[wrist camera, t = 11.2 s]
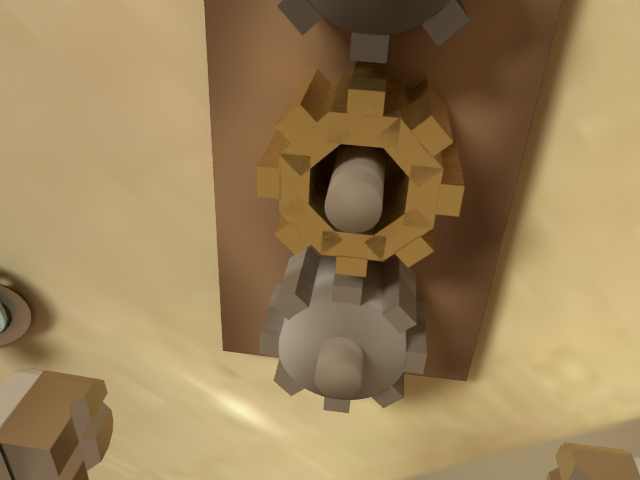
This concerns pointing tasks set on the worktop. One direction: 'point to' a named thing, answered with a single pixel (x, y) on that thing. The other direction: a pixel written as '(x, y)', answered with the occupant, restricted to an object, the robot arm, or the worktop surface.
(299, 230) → the brass gear
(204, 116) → the worktop surface
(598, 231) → the worktop surface
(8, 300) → the pacifier
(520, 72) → the gear board
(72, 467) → the robot arm
